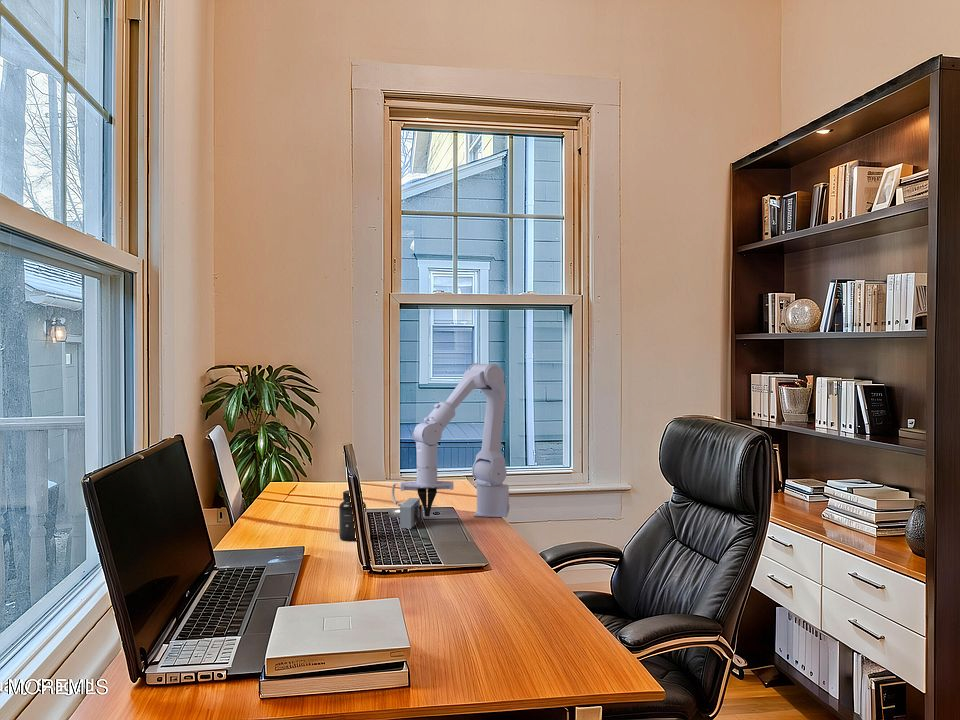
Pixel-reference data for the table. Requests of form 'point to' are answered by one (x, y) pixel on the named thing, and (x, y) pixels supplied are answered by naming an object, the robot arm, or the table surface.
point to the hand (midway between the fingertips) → (427, 515)
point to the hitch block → (408, 513)
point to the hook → (394, 496)
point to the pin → (417, 513)
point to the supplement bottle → (346, 519)
